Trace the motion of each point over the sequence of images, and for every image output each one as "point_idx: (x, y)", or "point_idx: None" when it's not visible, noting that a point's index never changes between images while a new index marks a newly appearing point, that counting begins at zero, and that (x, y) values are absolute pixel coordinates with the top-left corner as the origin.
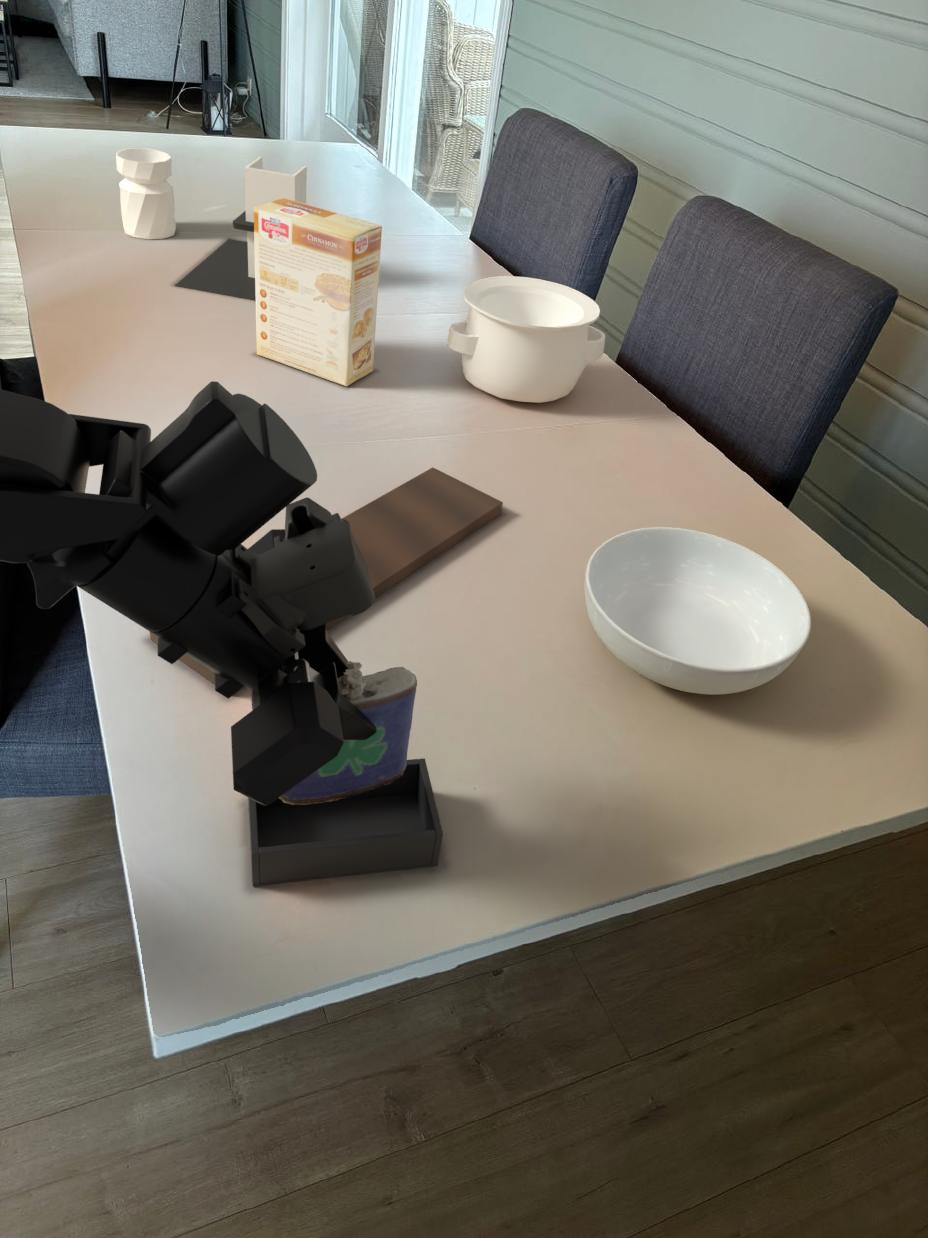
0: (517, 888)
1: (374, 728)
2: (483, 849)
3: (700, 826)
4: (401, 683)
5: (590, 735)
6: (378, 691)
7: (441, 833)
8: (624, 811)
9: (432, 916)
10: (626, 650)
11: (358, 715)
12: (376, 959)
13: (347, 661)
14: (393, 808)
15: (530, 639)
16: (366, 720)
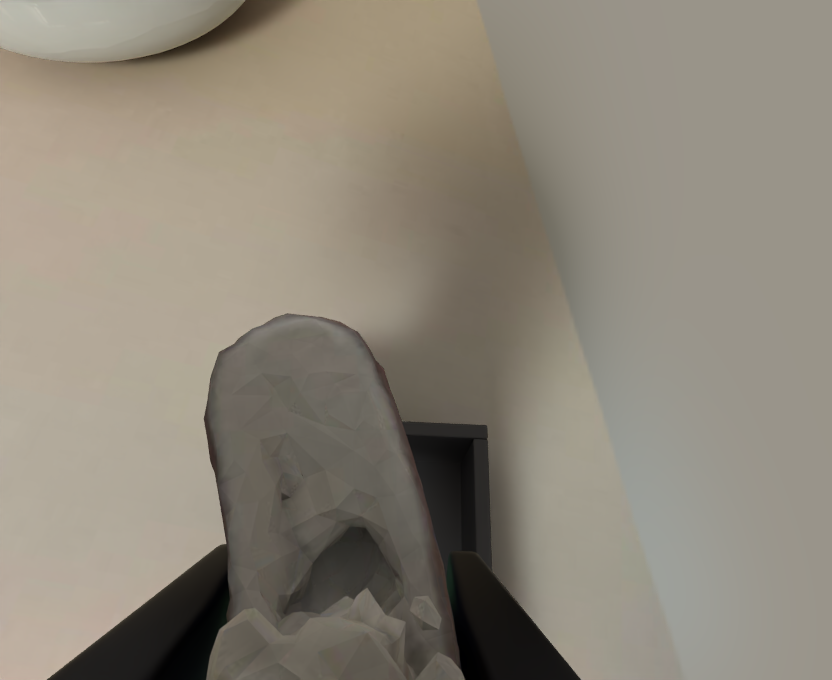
0: (525, 339)
1: (485, 563)
2: (447, 369)
3: (449, 96)
4: (334, 383)
5: (258, 157)
6: (359, 510)
7: (484, 427)
8: (409, 164)
9: (570, 485)
10: (146, 13)
11: (550, 671)
12: (652, 606)
13: (75, 674)
14: None
15: (6, 170)
16: (501, 607)
